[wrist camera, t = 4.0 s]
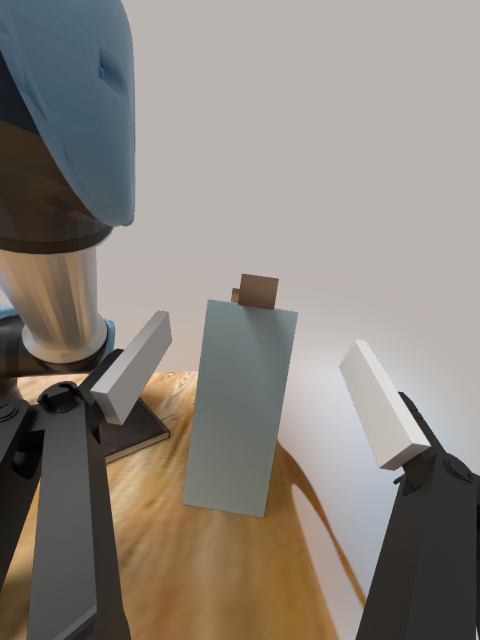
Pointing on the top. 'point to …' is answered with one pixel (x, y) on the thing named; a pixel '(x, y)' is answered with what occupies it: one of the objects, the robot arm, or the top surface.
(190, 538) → the top surface
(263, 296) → the brown tapered block
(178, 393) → the top surface
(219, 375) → the stand
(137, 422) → the hardcover book
